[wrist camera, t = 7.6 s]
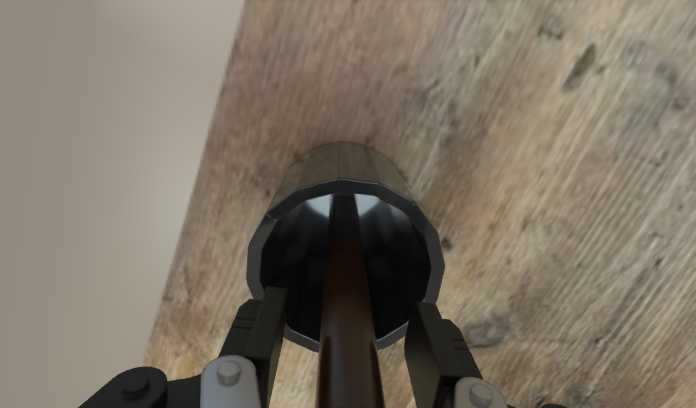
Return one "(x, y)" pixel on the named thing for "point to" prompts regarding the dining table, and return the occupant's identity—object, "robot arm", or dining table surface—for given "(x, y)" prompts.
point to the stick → (347, 319)
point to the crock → (377, 237)
